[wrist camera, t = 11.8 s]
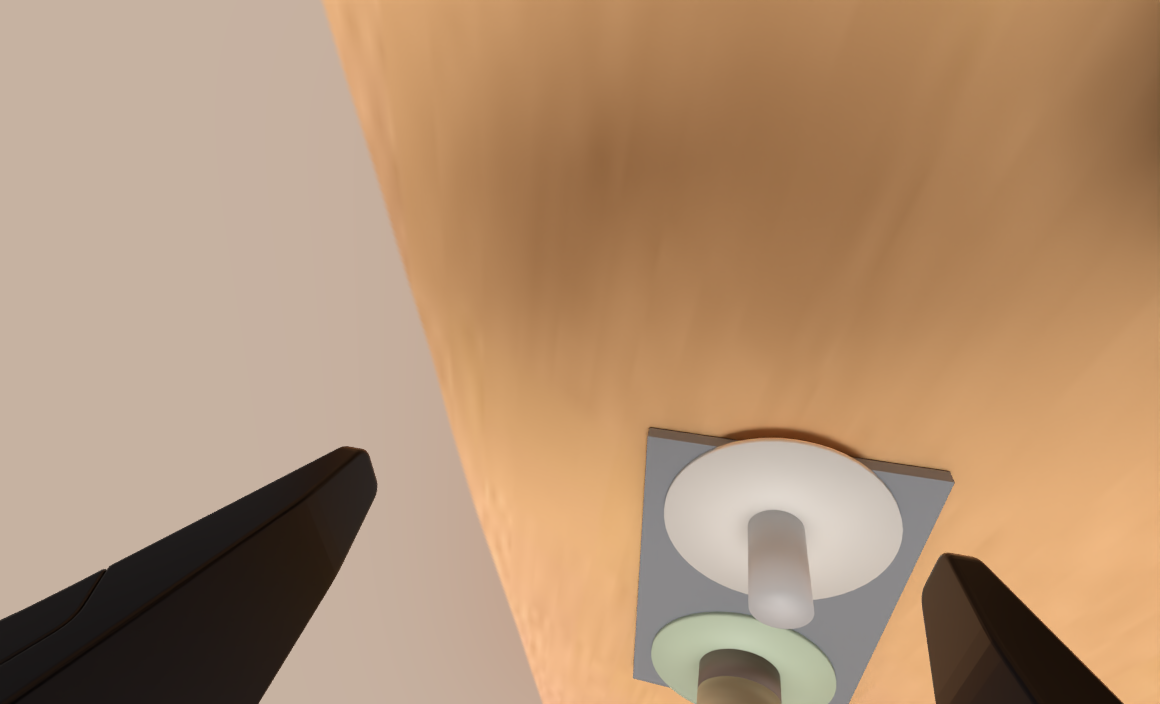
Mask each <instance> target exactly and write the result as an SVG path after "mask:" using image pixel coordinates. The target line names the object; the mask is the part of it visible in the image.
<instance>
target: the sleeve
mask: <svg viewBox="0 0 1160 704" xmlns="http://www.w3.org/2000/svg"><path fill="white" fill-rule="evenodd" d="M697 704H782V700H781V681H780V674H779V672H778V670H777V669H776V667H775V666H774V665H773V664H772V663H770V662H769V661H768V660H766V659H765V658H763V657H761V656H759V655H757V654H754V653H751V652H748V651H744V650H739V649H718V650H714V651H711V652H709V653H707V654H705V655H704V656H703V657H702V658H701V660H700V663H699V676H698V690H697Z"/></svg>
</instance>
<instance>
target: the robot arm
mask: <svg viewBox="0 0 1160 704" xmlns="http://www.w3.org/2000/svg"><path fill="white" fill-rule="evenodd" d="M376 492H377V480H376V476H375V473H374V470H373V467H372V463H371V460H370V456H369V454H368V453H367V451H366V450H364V449H360V448H354V447H348V446H345V447H340V448H338V449H336V450H334V451H332V452H330V453H328V454H327V455H325V456H322V457H321V458H319V459H317V460H315V461H313V462H311V463H309V464H307V465H305V466H303V467H301V468H299V469H298V470H295V471H293V472H291V473H289V474H288V475H286V476H284V477H282V478H280V479H278V480H276V481H274V482H272V483H270V484H268V485H266V486H264V487H262V488H260V489H259V490H256V491H254V492H253V493H251V494H249V495H247V496H245V497H243V498H241V499H239V500H237V501H235V502H233V503H231V504H229V505H227V506H225V507H223V508H221V509H219V510H218V511H216V512H214V513H212V514H210V515H208V516H206V517H204V518H202V519H200V520H198V521H196V522H194V523H192V524H190V525H188V526H186V527H184V528H182V529H181V530H179V531H177V532H175V533H173V534H171V535H169V536H167V537H165V538H163V539H161V540H159V541H157V542H155V543H153V544H151V545H149V546H147V547H146V548H144V549H142V550H140V551H138V552H136V553H134V554H132V555H130V556H128V557H126V558H124V559H122V560H120V561H118V562H116V563H114V564H112V565H111V566H109V568H108V569H107V570H106V569H103V570H101V571H99V572H97V573H95V574H93V575H91V576H89V577H87V578H85V579H83V580H81V581H79V582H77V583H75V584H73V585H72V586H69V587H68V588H65V589H64V590H61V591H59V592H58V593H55V594H53V595H51V596H49V597H47V598H45V599H44V600H41V601H39V602H37V603H35V604H33V605H32V606H29V607H27V608H25V609H23V610H21V611H19V612H17V613H14V614H12V615H10V616H8V617H6V618H4V619H2V620H0V704H259V702H260V700H261V699H262V697H263V695H264V694H265V692H266V691H267V689H268V687H269V686H270V684H271V682H272V680H273V679H274V677H275V676H276V674H277V672H278V671H279V669H280V668H281V666H282V664H283V663H284V661H285V659H286V658H287V656H288V654H289V653H290V651H291V650H292V648H293V646H294V644H295V643H296V641H297V640H298V638H299V637H300V635H301V633H302V632H303V630H304V628H305V627H306V625H307V623H308V622H309V620H310V619H311V617H312V615H313V614H314V612H315V610H316V609H317V607H318V605H319V604H320V602H321V601H322V599H323V597H324V596H325V594H326V592H327V591H328V589H329V587H330V586H331V584H332V582H333V580H334V579H335V577H336V575H337V573H338V572H339V570H340V568H341V566H342V564H343V562H344V560H345V558H346V555H347V554H348V552H349V549H350V548H351V545H352V543H353V541H354V539H355V537H356V535H357V533H358V531H359V529H360V527H361V525H362V523H363V521H364V519H365V517H366V515H367V513H368V510H369V509H370V506H371V504H372V502H373V500H374V498H375V496H376ZM922 609H923V616H924V623H925V630H926V637H927V644H928V651H929V658H930V666H931V673H932V680H933V687H934V694H935V701H936V704H1124V703H1123V702H1122V701H1121V700H1120V699H1119V698H1118V697H1117V696H1116V695H1115V694H1114V693H1113V692H1112V691H1111V690H1110V689H1109V688H1108V687H1107V686H1106V685H1105V684H1104V683H1103V682H1102V681H1101V680H1100V679H1099V678H1098V677H1097V676H1096V675H1095V674H1094V673H1093V672H1092V671H1091V670H1090V669H1089V668H1088V667H1087V666H1086V665H1085V664H1084V663H1083V662H1082V661H1081V660H1080V659H1079V658H1078V657H1077V656H1076V655H1075V654H1074V653H1073V652H1072V651H1071V650H1070V649H1069V648H1068V647H1067V646H1066V645H1065V644H1064V643H1063V642H1062V641H1061V640H1060V639H1059V638H1058V637H1057V636H1056V635H1055V634H1054V633H1053V632H1052V631H1051V630H1050V629H1049V628H1048V627H1047V626H1046V625H1045V624H1044V623H1043V622H1042V621H1041V620H1040V619H1039V618H1038V617H1037V616H1036V615H1035V614H1034V613H1033V612H1032V611H1031V610H1030V609H1029V608H1028V607H1027V606H1026V605H1025V604H1024V603H1023V602H1022V601H1021V600H1020V599H1019V598H1018V597H1017V596H1016V595H1015V594H1014V593H1013V592H1012V591H1011V590H1010V589H1009V588H1008V587H1007V586H1006V585H1005V584H1004V583H1003V582H1002V581H1001V580H1000V579H999V578H998V577H997V576H996V575H995V574H994V573H993V572H992V571H991V570H990V569H989V568H988V567H987V566H986V565H985V564H984V563H983V562H982V561H980V560H979V559H977V558H974V557H970V556H965V555H959V554H953V553H944V554H942V555H941V556H940V557H939V559H938V560H937V562H936V564H935V566H934V568H933V570H932V572H931V574H930V576H929V578H928V580H927V582H926V584H925V586H924V588H923V592H922Z"/></svg>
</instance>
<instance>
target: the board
mask: <svg viewBox="0 0 1160 704" xmlns="http://www.w3.org/2000/svg"><path fill="white" fill-rule="evenodd" d="M954 483H955V482H954V480H953V477H952V475H951V473H950V472H948V471H942V470H935V469H928V468H921V467H914V466H908V465H901V464H894V463H887V462H880V461H874V460H867V459H860V458H853V457H850V456H848V455H846V454H844V453H842V452H839V451H837V450H835V449H832V448H830V447H826V446H823V445H820V444H816V443H812V442H807V441H802V440H797V439H787V438H756V439H746V440H741V441H738V440H731V439H724V438H717V437H710V436H704V435H697V434H690V433H683V432H676V431H670V430H663V429H656V428H649V433H648V440H647V456H646V473H645V489H644V506H643V522H642V539H641V555H640V572H639V588H638V605H637V621H636V637H635V654H634V670H633V678H634V679H638V680H642V681H646V682H650V683H654V684H658V685H662V686H666V687H670V688H671V689H672V690H674V691H675V692H676V693H678V694H679V695H681V696H682V697H684V698H685V699H687V700H689V701H691V702H692V703H694V704H697V690H698V676H699V663H700V660H701V658H702V657H703V656H704V655H705V654H707V653H709V652H711V651H714V650H718V649H739V650H744V651H748V652H751V653H754V654H757V655H759V656H761V657H763V658H765V659H766V660H768V661H769V662H770V663H772V664H773V665H774V666H775V667H776V669H777V670H778V672H779V674H780V681H781V700H782V704H849V702H850V700H851V698H852V696H853V694H854V691H855V689H856V687H857V685H858V683H859V681H860V679H861V677H862V675H863V673H864V671H865V669H866V666H867V664H868V662H869V660H870V658H871V656H872V654H873V652H874V650H875V648H876V646H877V643H878V641H879V639H880V637H881V635H882V633H883V631H884V629H885V627H886V625H887V623H888V621H889V618H890V616H891V614H892V612H893V610H894V608H895V606H896V604H897V602H898V600H899V598H900V596H901V593H902V591H903V589H904V587H905V585H906V583H907V581H908V579H909V577H910V575H911V573H912V571H913V568H914V566H915V564H916V562H917V560H918V558H919V556H920V554H921V552H922V550H923V548H924V546H925V543H926V541H927V539H928V537H929V535H930V533H931V531H932V529H933V527H934V525H935V523H936V520H937V518H938V516H939V514H940V512H941V510H942V508H943V506H944V504H945V502H946V500H947V498H948V495H949V493H950V491H951V489H952V487H953V485H954Z"/></svg>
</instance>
